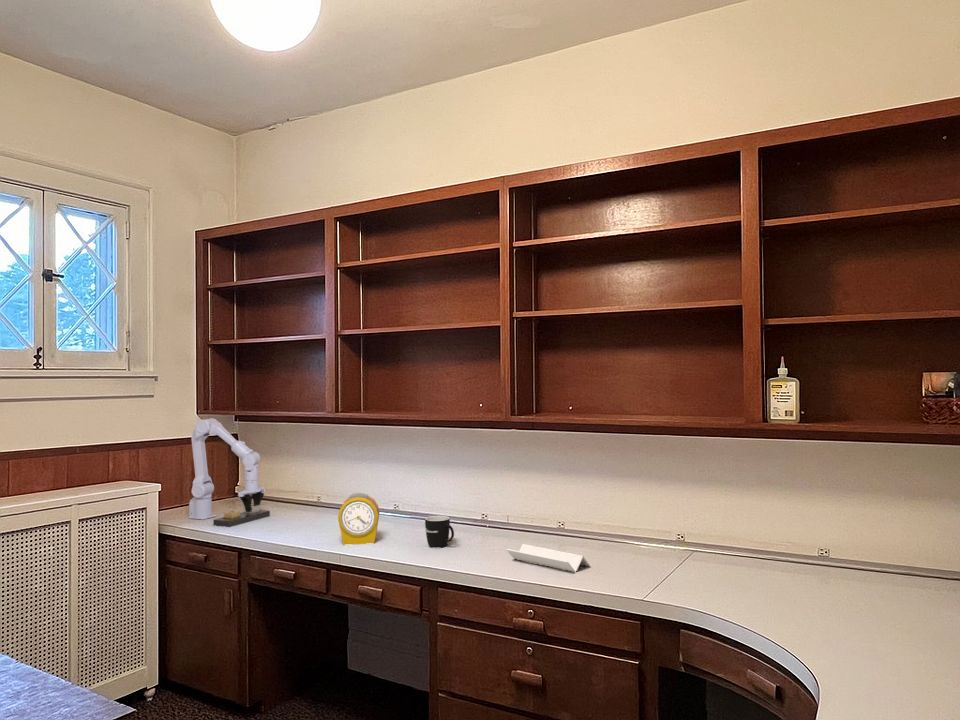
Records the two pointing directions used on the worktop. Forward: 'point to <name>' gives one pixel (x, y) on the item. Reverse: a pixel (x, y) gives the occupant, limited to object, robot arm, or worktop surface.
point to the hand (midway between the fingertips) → (252, 510)
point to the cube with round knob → (254, 509)
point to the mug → (438, 531)
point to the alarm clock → (358, 519)
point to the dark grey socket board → (241, 519)
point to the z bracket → (549, 557)
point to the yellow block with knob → (231, 515)
